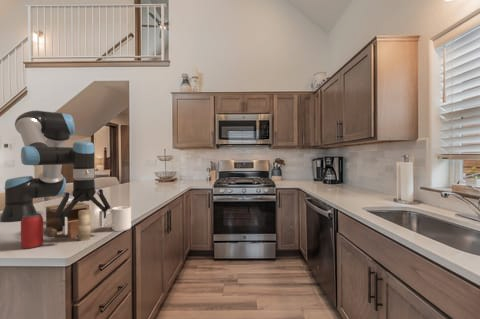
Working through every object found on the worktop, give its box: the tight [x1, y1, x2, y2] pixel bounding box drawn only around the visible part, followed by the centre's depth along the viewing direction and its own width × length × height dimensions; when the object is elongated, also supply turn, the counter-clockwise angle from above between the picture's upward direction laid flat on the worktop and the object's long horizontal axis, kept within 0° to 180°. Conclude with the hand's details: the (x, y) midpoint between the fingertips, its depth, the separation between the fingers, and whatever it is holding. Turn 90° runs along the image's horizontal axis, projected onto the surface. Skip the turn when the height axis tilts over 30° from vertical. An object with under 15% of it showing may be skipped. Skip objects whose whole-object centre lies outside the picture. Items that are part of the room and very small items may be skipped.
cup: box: [104, 205, 132, 232], centre depth 115 cm, size 8×12×10 cm
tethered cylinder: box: [65, 209, 91, 242], centre depth 105 cm, size 14×6×12 cm, turn 52°
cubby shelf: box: [45, 202, 90, 238], centre depth 114 cm, size 11×14×12 cm
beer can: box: [20, 213, 44, 249], centre depth 94 cm, size 7×7×12 cm
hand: (84, 229), depth 102 cm, fingers open, 13 cm apart
